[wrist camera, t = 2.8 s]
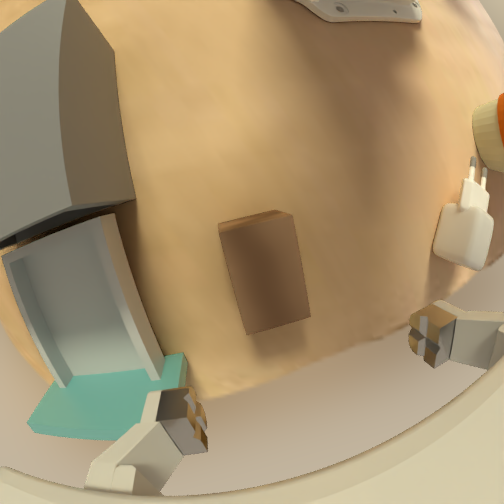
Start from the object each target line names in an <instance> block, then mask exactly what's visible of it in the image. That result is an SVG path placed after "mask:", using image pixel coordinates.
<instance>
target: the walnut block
mask: <svg viewBox="0 0 504 504" xmlns="http://www.w3.org/2000/svg"><path fill="white" fill-rule="evenodd" d="M218 229H219V236H220V239H221V243H222V247H223V251H224V255H225V259H226V262H227V266H228V270H229V274H230V277H231V281H232V285H233V288H234V292H235V296H236V299H237V303H238V306H239V310H240V314H241V317H242V321H243V324H244V328H245V331H246V335H249V334H253V333H257V332H261V331H264V330H268V329H271V328H275V327H278V326H282V325H285V324H289V323H292V322H295V321H299V320H302V319H305V318H308V317H311V315H310V309H309V302H308V296H307V291H306V285H305V279H304V273H303V268H302V262H301V257H300V252H299V246H298V241H297V236H296V231H295V226H294V221H293V216H292V215H291V214H287V213H284V212H281V211H277V210H272V211H268V212H263V213H259V214H255V215H251V216H247V217H243V218H239V219H235V220H231V221H227V222H223V223H219V224H218Z"/></svg>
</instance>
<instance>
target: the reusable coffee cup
mask: <svg viewBox="0 0 504 504" xmlns="http://www.w3.org/2000/svg"><path fill="white" fill-rule="evenodd" d="M472 125H473V134H474V139H475V143H476V146H477V149H478V152H479V154H480V157H481V159H482V160H483V162H484V164H485V165H486V166H487V167H488V168H489V169H490V170H494V171H498V172H503V173H504V93H503V94H501V95H500V96H499V98H498V99H497V100H494V101H491V102H489V103H486V104H484V105H481V106H478V107H477V108H476V109H475V110H474V113H473V120H472Z"/></svg>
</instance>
